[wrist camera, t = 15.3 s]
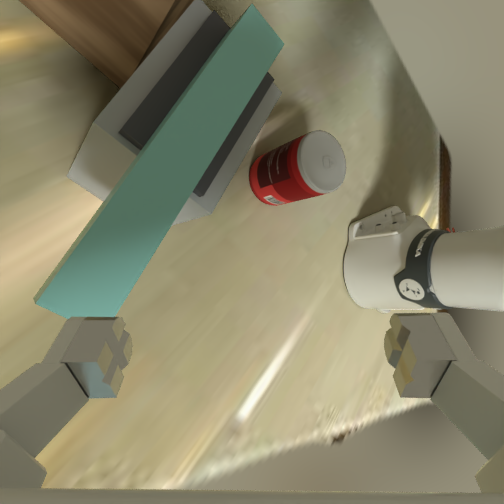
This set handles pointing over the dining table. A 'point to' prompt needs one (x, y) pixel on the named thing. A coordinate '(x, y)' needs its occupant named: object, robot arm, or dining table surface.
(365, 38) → the dining table surface
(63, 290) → the long teal bar
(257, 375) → the dining table surface
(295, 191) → the canned food
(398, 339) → the robot arm
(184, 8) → the stand
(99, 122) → the phone dock
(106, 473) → the dining table surface
